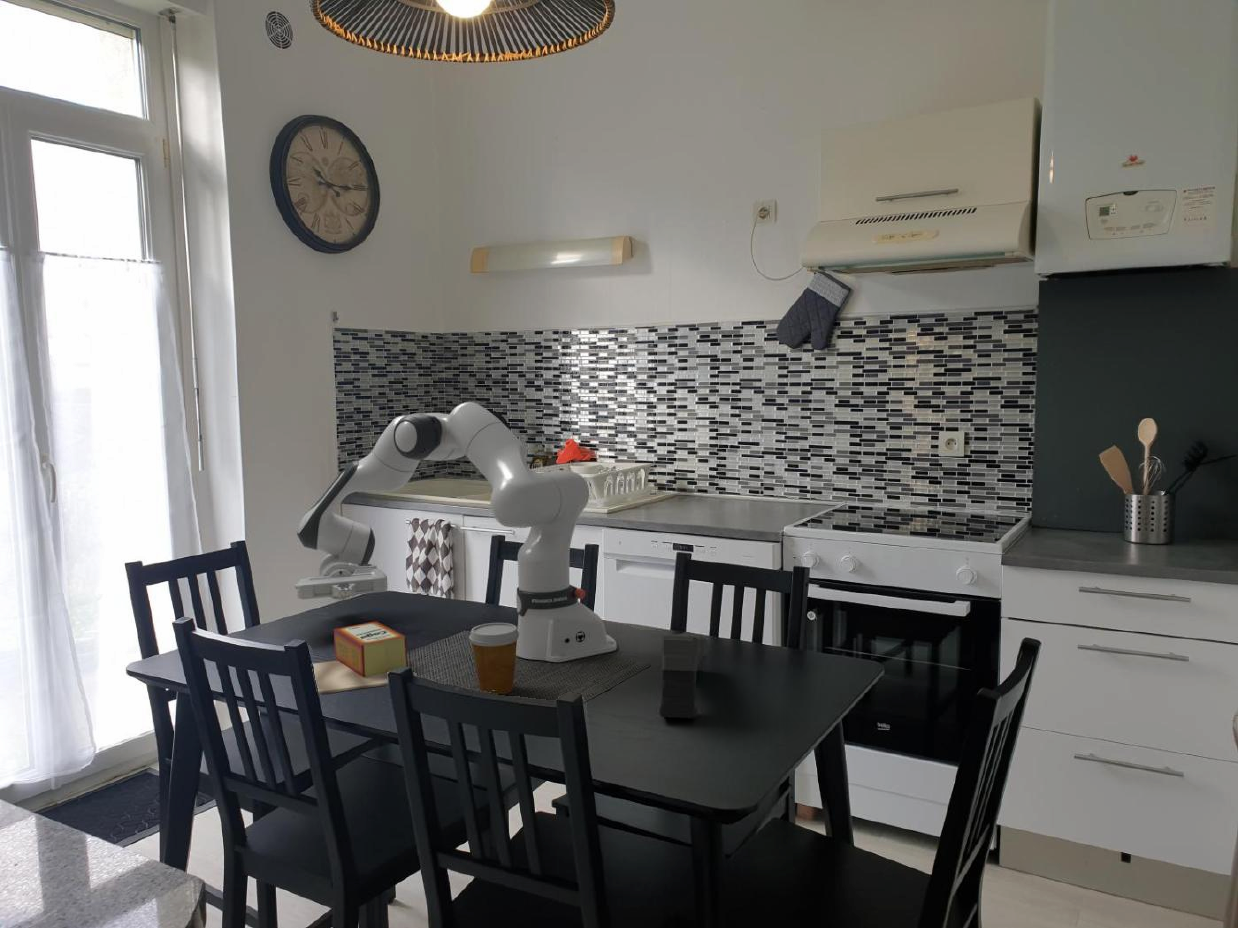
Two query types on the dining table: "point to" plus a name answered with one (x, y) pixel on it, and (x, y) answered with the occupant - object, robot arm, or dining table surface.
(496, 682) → the disposable coffee cup
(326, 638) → the dining table surface
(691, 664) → the dark grey upright block
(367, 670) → the baking soda box
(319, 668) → the oak board
